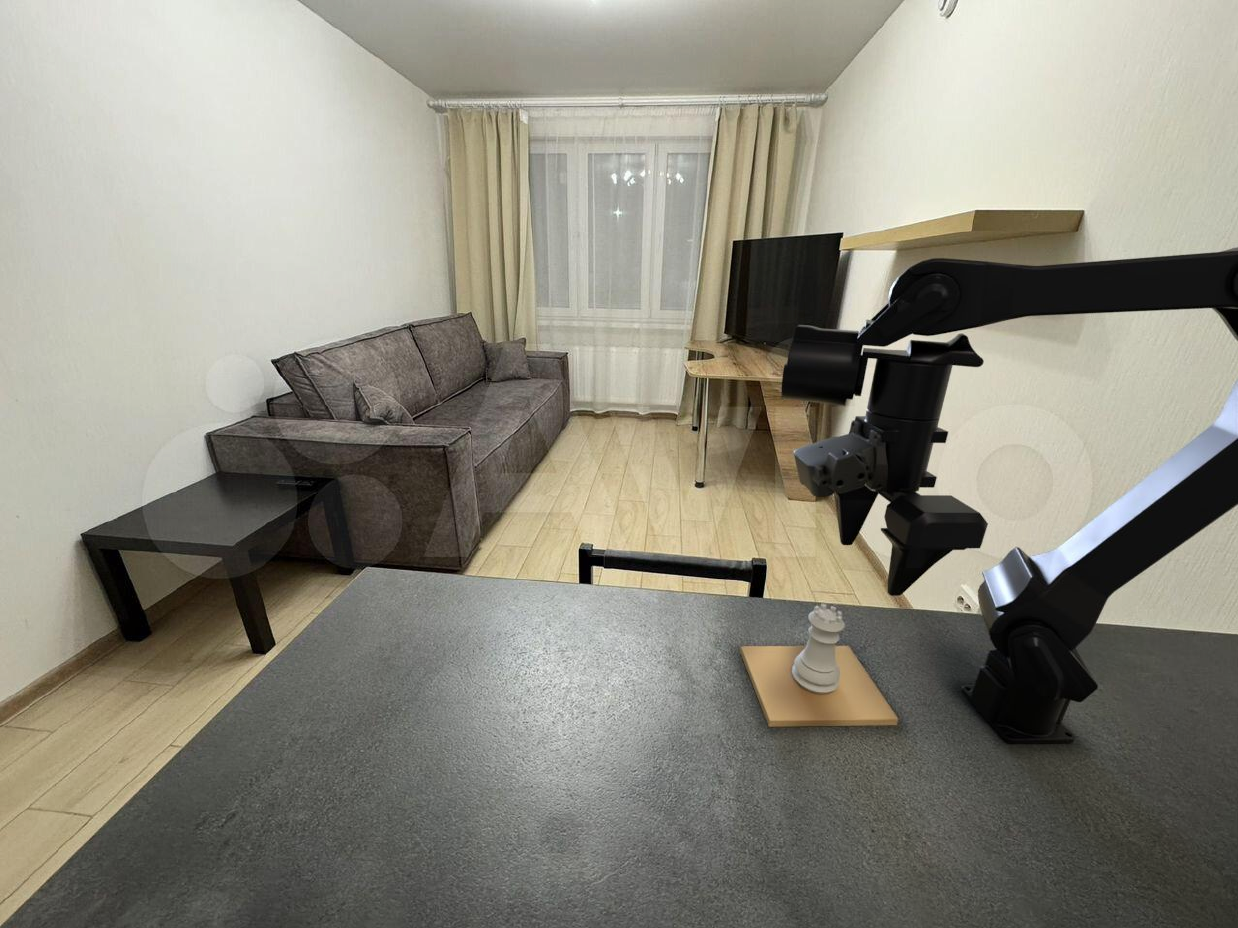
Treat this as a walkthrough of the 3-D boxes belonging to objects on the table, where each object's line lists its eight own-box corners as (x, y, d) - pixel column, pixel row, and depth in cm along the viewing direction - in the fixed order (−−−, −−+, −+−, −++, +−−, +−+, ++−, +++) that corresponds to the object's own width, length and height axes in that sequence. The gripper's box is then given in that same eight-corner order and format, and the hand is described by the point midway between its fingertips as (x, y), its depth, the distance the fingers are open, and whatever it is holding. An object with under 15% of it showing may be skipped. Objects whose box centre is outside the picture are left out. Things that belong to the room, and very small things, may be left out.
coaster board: (847, 651, 57) (848, 645, 57) (897, 725, 48) (898, 718, 48) (739, 651, 57) (740, 645, 56) (768, 727, 47) (769, 720, 47)
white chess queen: (834, 667, 54) (848, 601, 51) (842, 700, 50) (858, 630, 47) (789, 660, 54) (800, 595, 52) (793, 691, 50) (806, 622, 48)
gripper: (776, 388, 54) (758, 524, 59) (867, 444, 36) (829, 629, 42) (880, 390, 55) (853, 524, 60) (1018, 446, 37) (962, 627, 43)
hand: (868, 567), depth 51 cm, fingers open, 9 cm apart
